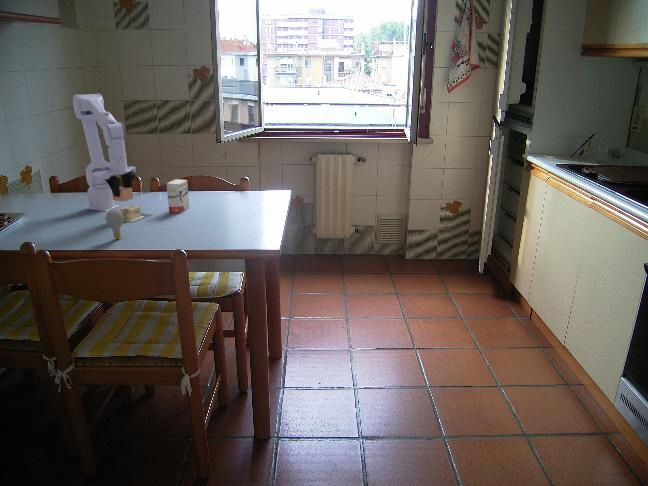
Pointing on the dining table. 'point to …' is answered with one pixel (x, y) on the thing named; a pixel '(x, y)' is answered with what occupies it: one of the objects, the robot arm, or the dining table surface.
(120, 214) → the light bulb
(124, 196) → the terracotta block
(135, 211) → the beech block
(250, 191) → the dining table surface
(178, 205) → the ink box
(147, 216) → the grey flat panel
